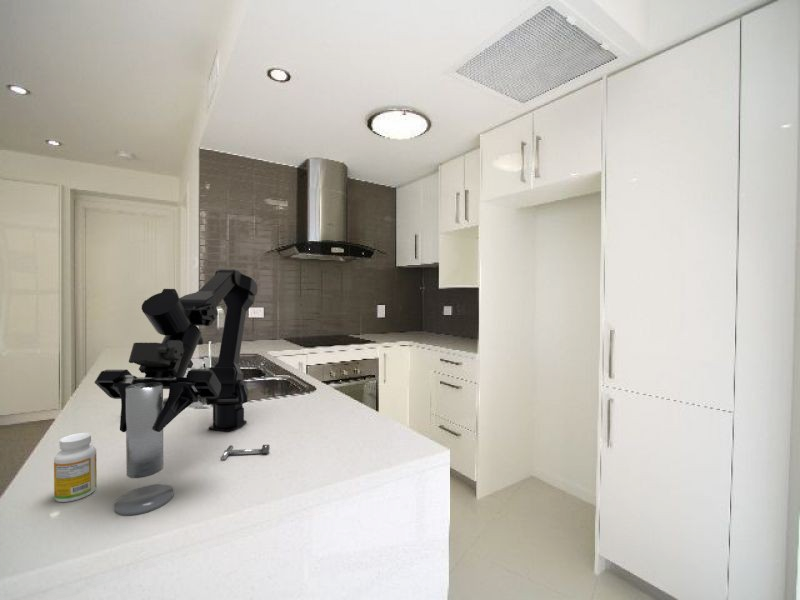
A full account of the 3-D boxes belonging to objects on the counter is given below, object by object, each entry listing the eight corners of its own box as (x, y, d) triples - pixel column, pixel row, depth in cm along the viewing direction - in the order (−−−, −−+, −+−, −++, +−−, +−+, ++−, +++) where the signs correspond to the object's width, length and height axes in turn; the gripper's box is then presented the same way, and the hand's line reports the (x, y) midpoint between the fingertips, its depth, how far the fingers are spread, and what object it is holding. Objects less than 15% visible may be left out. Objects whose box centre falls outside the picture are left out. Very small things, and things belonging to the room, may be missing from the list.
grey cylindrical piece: (119, 473, 59) (118, 387, 59) (152, 460, 64) (151, 380, 63) (137, 481, 57) (136, 391, 57) (170, 467, 62) (169, 384, 61)
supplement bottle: (71, 486, 65) (71, 431, 65) (104, 485, 65) (104, 430, 65) (45, 503, 59) (44, 444, 59) (80, 502, 60) (80, 443, 60)
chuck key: (220, 460, 75) (220, 451, 75) (228, 450, 80) (228, 441, 80) (265, 458, 76) (266, 449, 76) (271, 448, 81) (271, 440, 81)
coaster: (100, 511, 57) (100, 507, 57) (146, 485, 65) (146, 481, 65) (143, 518, 56) (143, 515, 56) (184, 491, 64) (184, 487, 64)
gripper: (102, 323, 63) (45, 407, 53) (214, 323, 64) (180, 406, 54) (132, 359, 71) (89, 439, 61) (231, 359, 72) (206, 438, 62)
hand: (139, 431), depth 59 cm, fingers closed on grey cylindrical piece, 5 cm apart
